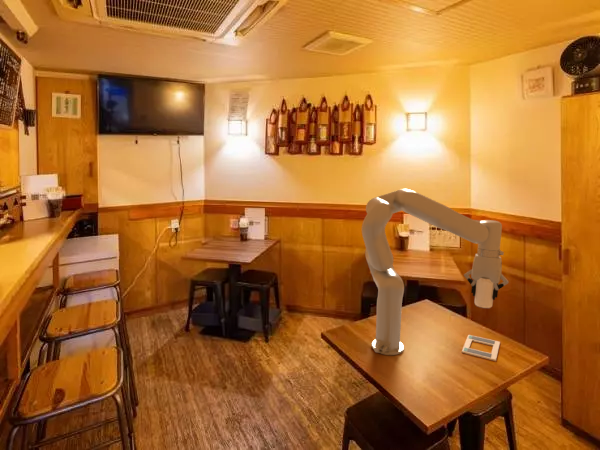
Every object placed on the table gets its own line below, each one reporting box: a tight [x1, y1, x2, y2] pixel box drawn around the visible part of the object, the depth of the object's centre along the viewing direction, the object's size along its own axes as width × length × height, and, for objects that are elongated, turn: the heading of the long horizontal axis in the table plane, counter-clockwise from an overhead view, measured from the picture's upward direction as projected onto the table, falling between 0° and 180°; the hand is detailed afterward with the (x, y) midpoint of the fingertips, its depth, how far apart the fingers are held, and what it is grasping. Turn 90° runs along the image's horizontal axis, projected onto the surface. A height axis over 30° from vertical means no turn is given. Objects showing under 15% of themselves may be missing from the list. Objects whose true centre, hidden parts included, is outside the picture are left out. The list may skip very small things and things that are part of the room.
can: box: [473, 277, 494, 309], centre depth 148 cm, size 6×6×12 cm
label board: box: [461, 334, 501, 362], centre depth 152 cm, size 16×12×1 cm
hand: (483, 296), depth 149 cm, fingers closed on can, 6 cm apart
